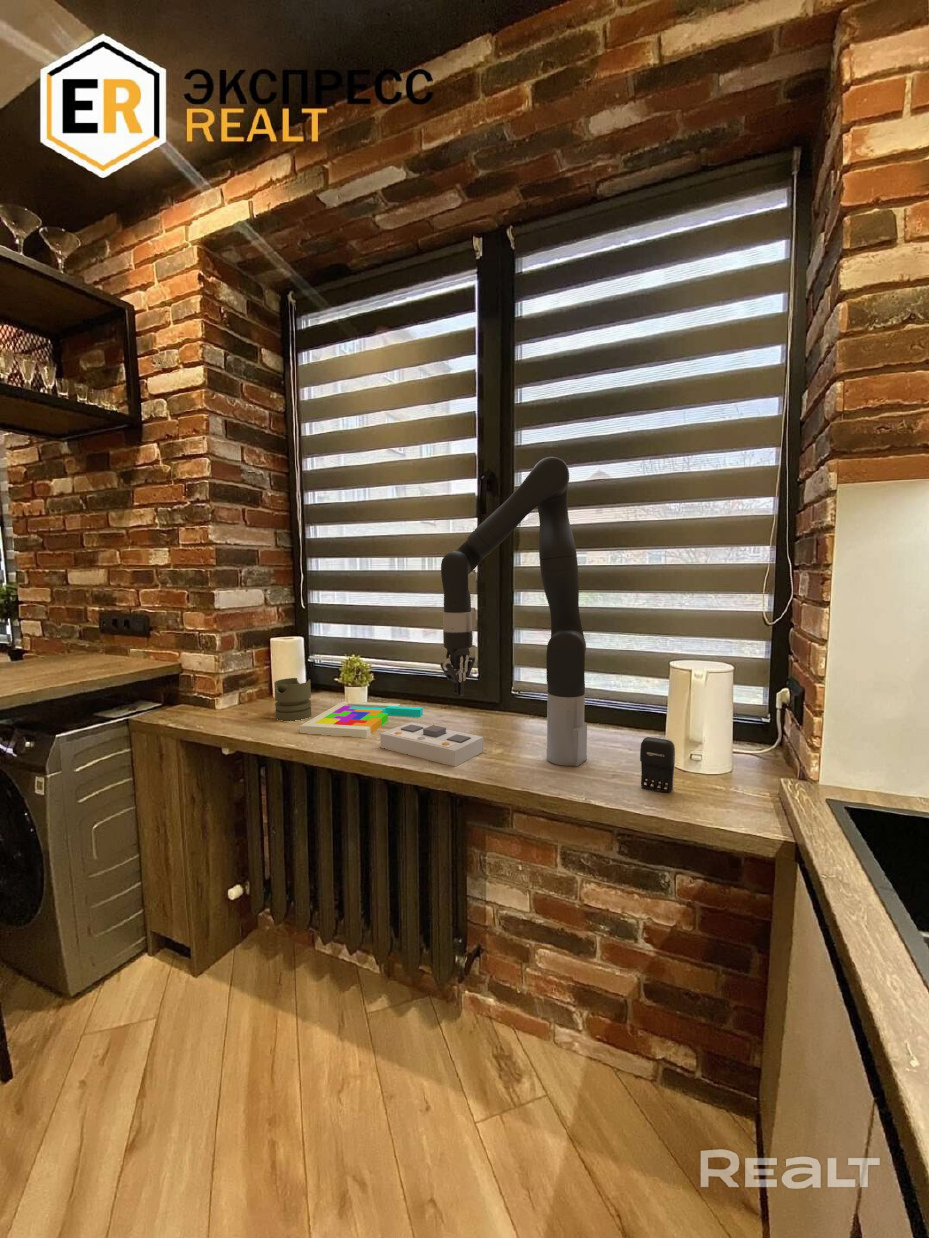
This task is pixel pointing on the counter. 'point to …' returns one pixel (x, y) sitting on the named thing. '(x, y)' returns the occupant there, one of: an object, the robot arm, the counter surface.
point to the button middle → (434, 731)
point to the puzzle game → (356, 718)
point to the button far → (411, 728)
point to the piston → (292, 699)
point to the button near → (458, 738)
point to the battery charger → (657, 764)
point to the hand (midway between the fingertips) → (458, 695)
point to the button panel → (432, 745)
